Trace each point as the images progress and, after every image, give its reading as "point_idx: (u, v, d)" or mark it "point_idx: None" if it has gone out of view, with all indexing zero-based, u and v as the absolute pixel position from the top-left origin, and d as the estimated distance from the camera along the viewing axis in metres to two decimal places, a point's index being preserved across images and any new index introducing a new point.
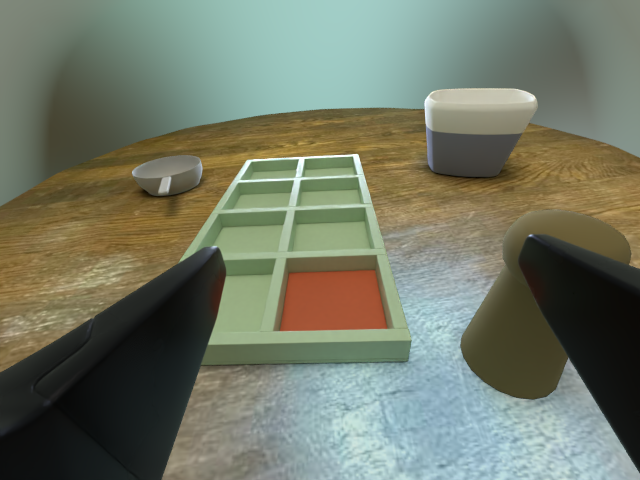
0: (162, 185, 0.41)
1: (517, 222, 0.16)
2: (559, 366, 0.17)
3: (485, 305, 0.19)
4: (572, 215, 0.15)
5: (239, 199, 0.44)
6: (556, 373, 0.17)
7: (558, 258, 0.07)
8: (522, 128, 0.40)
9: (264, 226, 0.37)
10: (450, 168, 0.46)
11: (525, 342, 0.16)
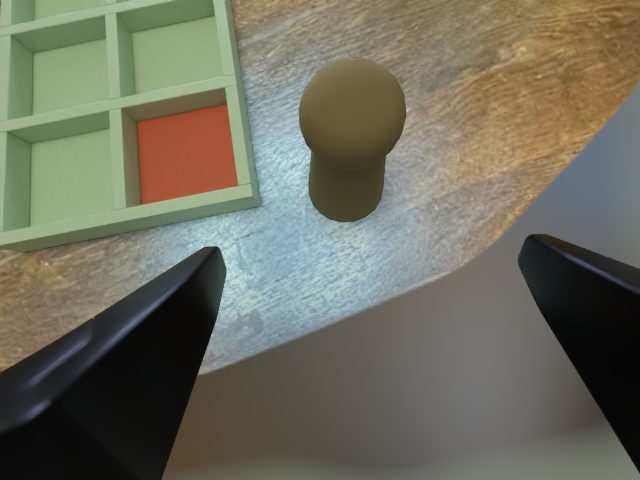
0: None
1: (307, 86, 0.14)
2: (367, 201, 0.20)
3: None
4: (359, 75, 0.13)
5: None
6: (367, 205, 0.21)
7: (558, 258, 0.07)
8: None
9: (88, 43, 0.27)
10: None
11: (334, 194, 0.19)
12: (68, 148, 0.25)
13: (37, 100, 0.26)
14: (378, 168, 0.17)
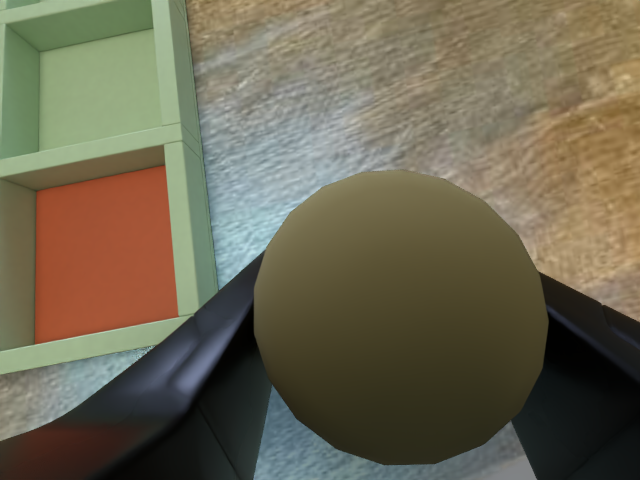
0: None
1: (270, 254, 0.05)
2: None
3: None
4: (424, 248, 0.04)
5: None
6: None
7: None
8: None
9: None
10: None
11: None
12: None
13: None
14: None
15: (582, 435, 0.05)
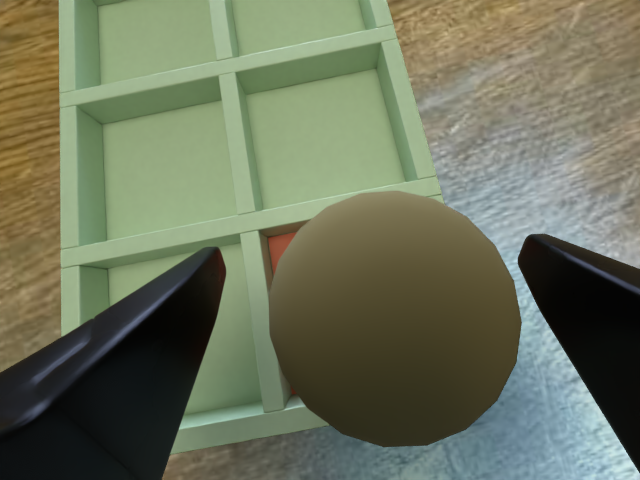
0: None
1: (283, 266, 0.06)
2: None
3: None
4: (414, 261, 0.05)
5: (101, 23, 0.20)
6: None
7: (558, 258, 0.07)
8: None
9: (183, 110, 0.19)
10: None
11: None
12: None
13: (112, 198, 0.18)
14: None
15: None
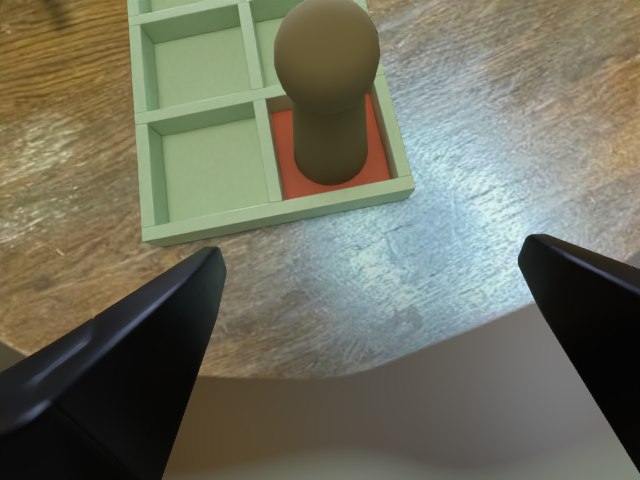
0: None
1: (280, 25, 0.13)
2: (351, 160, 0.20)
3: None
4: (331, 10, 0.13)
5: None
6: (351, 165, 0.21)
7: (558, 258, 0.07)
8: None
9: (211, 33, 0.26)
10: None
11: (315, 150, 0.19)
12: (201, 140, 0.24)
13: (163, 92, 0.26)
14: (357, 119, 0.17)
15: None
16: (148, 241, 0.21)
